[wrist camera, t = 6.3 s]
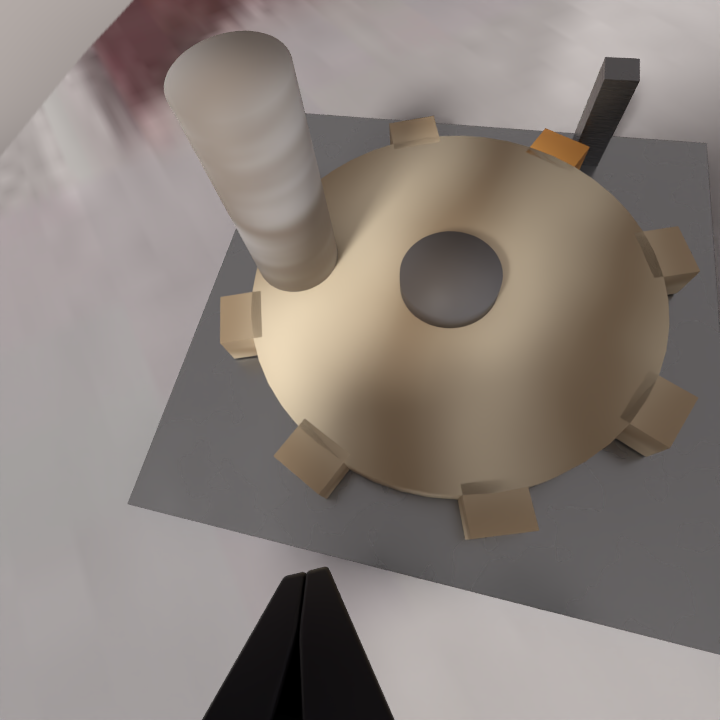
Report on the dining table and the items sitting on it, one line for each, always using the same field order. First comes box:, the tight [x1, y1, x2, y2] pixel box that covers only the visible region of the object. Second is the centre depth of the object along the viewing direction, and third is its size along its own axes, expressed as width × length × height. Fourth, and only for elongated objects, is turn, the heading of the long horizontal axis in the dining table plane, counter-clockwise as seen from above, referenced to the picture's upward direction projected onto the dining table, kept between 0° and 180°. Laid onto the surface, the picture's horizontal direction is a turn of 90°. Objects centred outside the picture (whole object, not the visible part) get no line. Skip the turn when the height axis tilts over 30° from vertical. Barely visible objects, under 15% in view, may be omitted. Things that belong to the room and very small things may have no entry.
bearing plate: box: [128, 57, 720, 655], centre depth 16 cm, size 20×20×4 cm
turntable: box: [164, 31, 700, 540], centre depth 14 cm, size 17×17×9 cm
